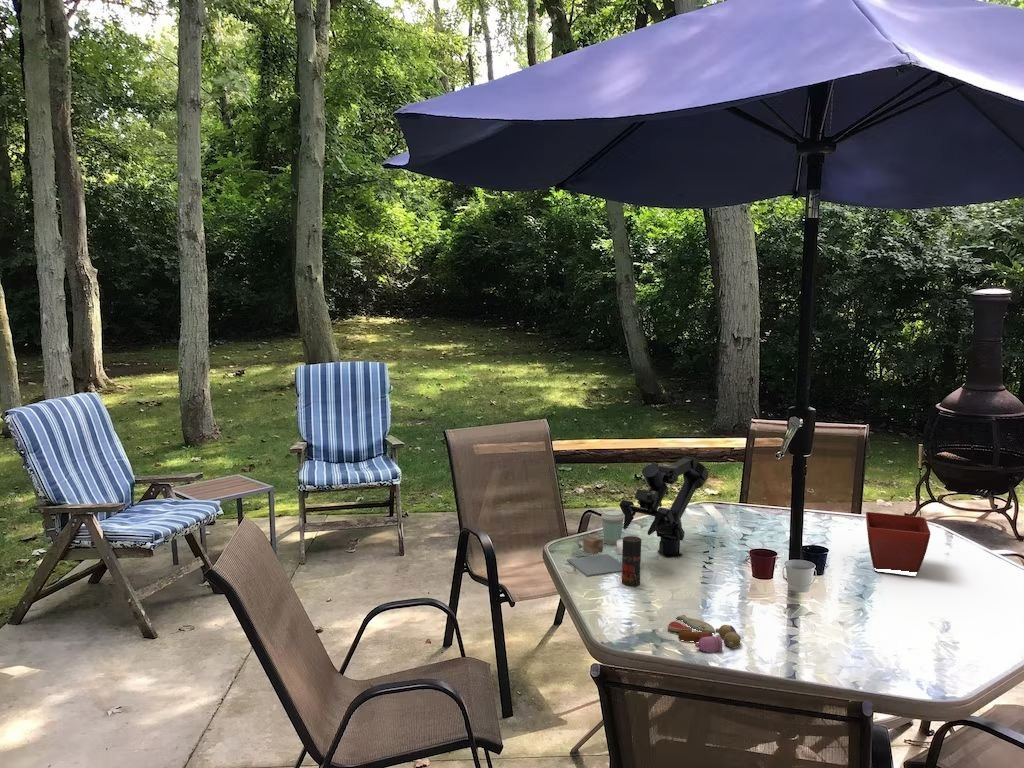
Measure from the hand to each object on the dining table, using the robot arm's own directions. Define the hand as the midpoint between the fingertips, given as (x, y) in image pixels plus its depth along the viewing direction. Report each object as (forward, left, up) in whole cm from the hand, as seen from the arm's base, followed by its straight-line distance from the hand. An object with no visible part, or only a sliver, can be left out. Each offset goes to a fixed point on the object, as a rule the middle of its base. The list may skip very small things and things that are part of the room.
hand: (636, 531), depth 271 cm
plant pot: (-87, +26, -15) cm, 92 cm away
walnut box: (+3, -25, -15) cm, 29 cm away
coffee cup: (-8, -31, -15) cm, 35 cm away
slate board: (+8, -11, -15) cm, 20 cm away
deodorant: (+5, +7, -15) cm, 17 cm away
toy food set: (+6, +50, -16) cm, 53 cm away
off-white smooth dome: (-8, -20, -15) cm, 26 cm away
